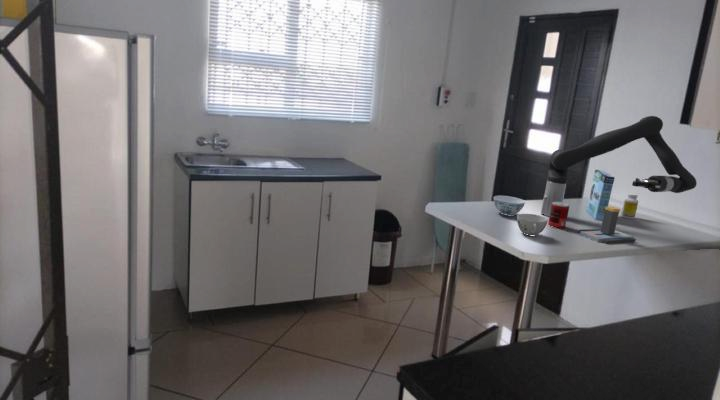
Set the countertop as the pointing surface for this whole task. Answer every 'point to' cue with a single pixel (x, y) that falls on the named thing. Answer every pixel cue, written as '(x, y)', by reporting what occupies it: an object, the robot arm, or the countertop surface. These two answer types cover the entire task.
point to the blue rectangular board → (604, 235)
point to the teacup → (531, 223)
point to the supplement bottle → (630, 206)
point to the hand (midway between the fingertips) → (634, 183)
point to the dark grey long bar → (619, 240)
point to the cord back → (590, 230)
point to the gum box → (600, 194)
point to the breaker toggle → (610, 220)
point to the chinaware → (508, 204)
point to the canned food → (558, 214)
